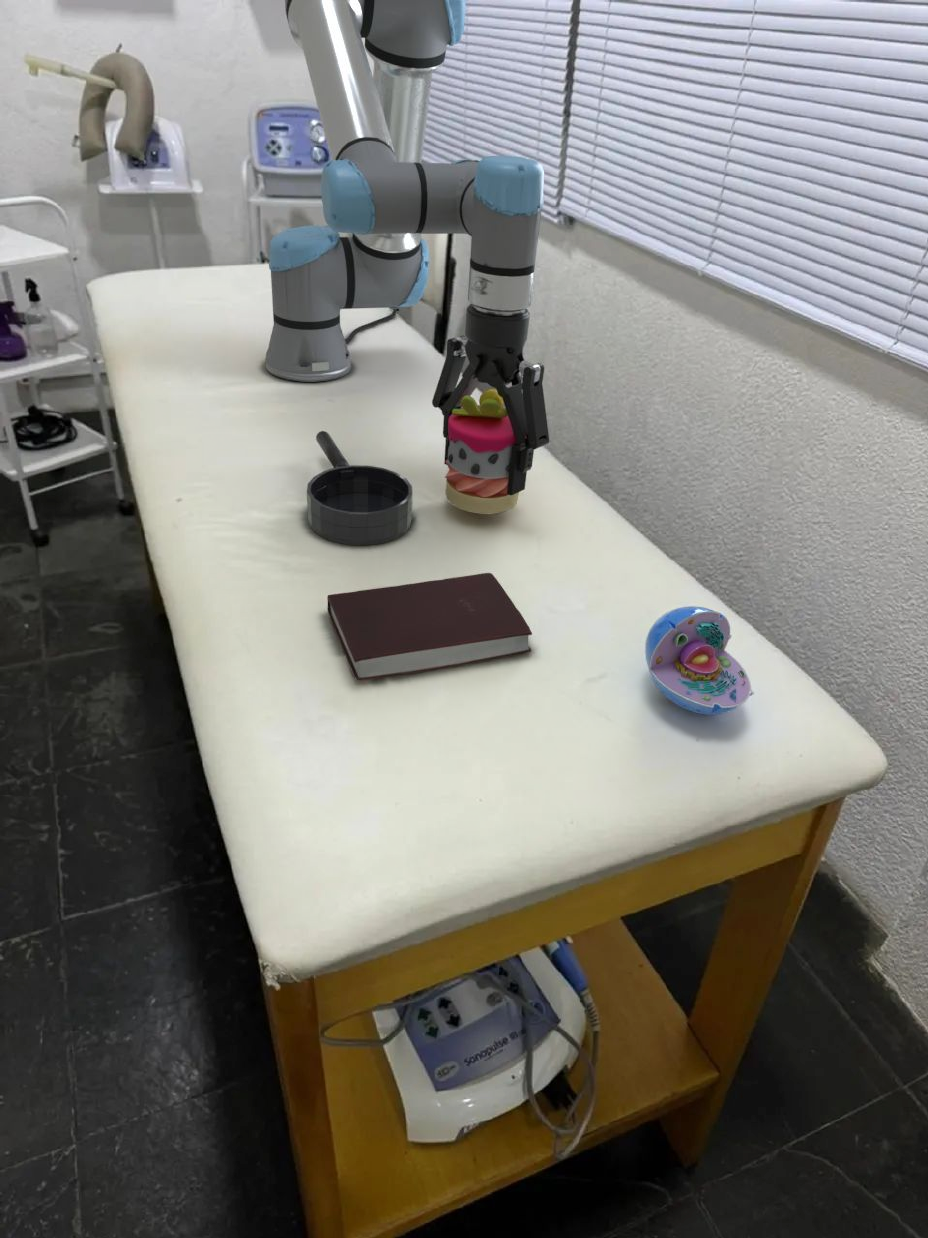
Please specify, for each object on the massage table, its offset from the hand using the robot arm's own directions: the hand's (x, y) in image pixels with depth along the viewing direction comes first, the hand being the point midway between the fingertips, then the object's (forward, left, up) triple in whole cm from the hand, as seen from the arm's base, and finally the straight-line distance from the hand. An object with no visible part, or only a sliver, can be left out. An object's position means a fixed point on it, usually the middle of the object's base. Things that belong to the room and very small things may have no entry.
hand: (483, 476), depth 113 cm
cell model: (+13, +40, -5) cm, 43 cm away
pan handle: (+9, -20, -2) cm, 22 cm away
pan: (+14, -9, -5) cm, 17 cm away
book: (+25, +15, -5) cm, 30 cm away
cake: (0, 0, -3) cm, 3 cm away
